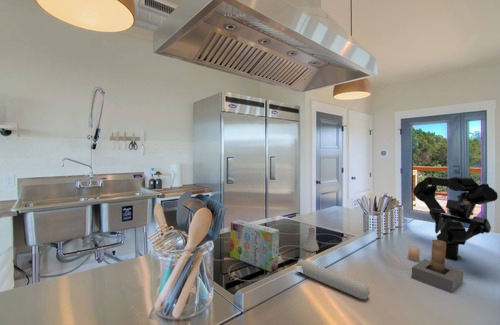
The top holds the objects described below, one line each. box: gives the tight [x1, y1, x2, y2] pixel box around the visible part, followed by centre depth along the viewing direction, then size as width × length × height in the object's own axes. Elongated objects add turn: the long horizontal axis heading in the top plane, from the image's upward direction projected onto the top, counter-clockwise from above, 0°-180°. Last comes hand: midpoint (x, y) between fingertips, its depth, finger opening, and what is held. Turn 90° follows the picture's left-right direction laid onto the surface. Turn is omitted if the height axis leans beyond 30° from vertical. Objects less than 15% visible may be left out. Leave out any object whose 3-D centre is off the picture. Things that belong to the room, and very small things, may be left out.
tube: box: [295, 258, 371, 301], centre depth 87 cm, size 5×5×25 cm
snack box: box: [229, 219, 280, 273], centre depth 103 cm, size 21×6×15 cm, turn 52°
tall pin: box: [430, 239, 446, 274], centre depth 92 cm, size 4×4×14 cm
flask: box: [302, 226, 320, 253], centre depth 117 cm, size 7×7×10 cm
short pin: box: [407, 245, 421, 263], centre depth 109 cm, size 4×4×5 cm
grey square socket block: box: [411, 258, 465, 293], centre depth 92 cm, size 12×12×4 cm
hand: (449, 236), depth 99 cm, fingers open, 9 cm apart
